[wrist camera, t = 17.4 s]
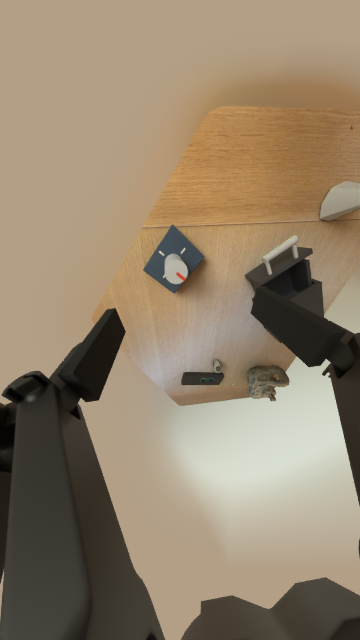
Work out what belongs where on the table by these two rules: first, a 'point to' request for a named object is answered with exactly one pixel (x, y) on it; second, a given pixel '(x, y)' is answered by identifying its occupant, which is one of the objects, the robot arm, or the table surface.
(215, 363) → the wristwatch
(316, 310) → the drawer cabinet
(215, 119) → the table surface
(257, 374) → the teapot
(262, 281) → the open drawer with handle
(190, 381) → the smart home device
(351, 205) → the flask
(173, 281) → the timer knob
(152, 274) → the timer panel
